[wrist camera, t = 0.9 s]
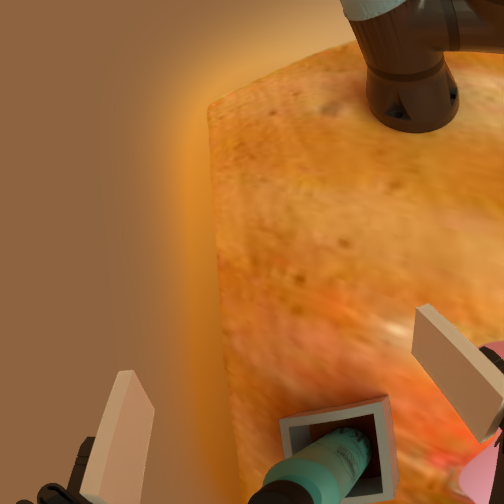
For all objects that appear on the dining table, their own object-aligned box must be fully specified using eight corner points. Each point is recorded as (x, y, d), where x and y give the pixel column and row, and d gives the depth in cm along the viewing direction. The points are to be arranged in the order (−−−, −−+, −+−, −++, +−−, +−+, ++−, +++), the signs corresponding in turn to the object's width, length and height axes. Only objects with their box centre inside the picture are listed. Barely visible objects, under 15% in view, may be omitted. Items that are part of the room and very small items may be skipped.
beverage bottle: (348, 481, 28) (272, 566, 12) (311, 447, 32) (210, 503, 16) (387, 445, 28) (345, 524, 12) (348, 411, 32) (270, 454, 16)
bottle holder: (388, 395, 30) (382, 401, 25) (399, 479, 25) (393, 499, 21) (299, 412, 35) (278, 419, 30) (310, 490, 30) (291, 507, 25)
